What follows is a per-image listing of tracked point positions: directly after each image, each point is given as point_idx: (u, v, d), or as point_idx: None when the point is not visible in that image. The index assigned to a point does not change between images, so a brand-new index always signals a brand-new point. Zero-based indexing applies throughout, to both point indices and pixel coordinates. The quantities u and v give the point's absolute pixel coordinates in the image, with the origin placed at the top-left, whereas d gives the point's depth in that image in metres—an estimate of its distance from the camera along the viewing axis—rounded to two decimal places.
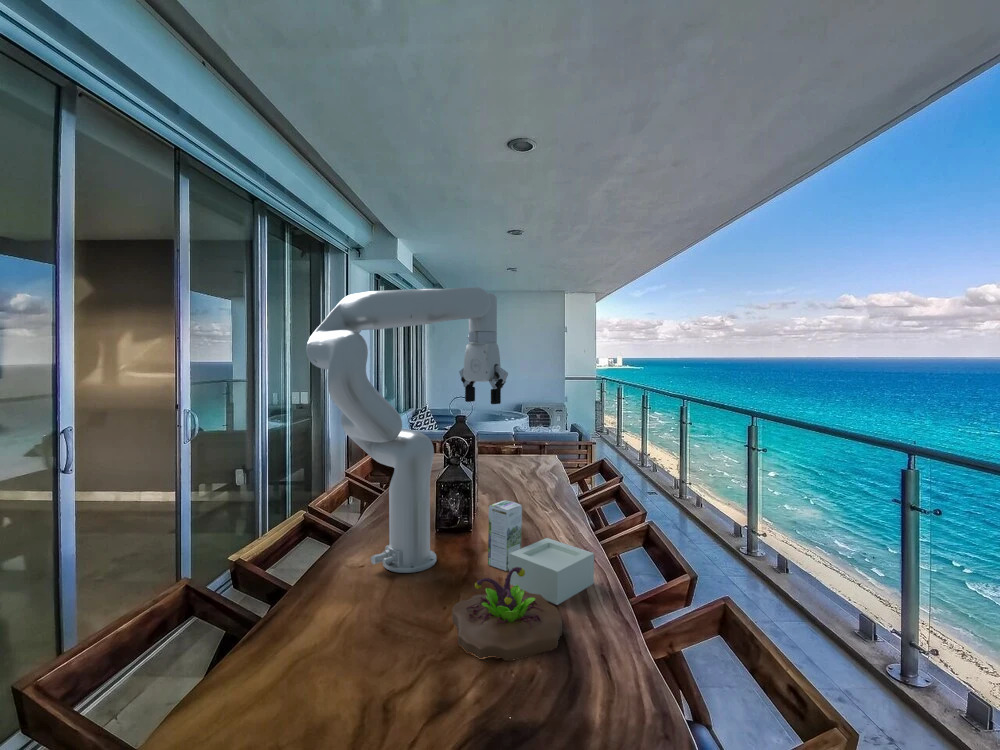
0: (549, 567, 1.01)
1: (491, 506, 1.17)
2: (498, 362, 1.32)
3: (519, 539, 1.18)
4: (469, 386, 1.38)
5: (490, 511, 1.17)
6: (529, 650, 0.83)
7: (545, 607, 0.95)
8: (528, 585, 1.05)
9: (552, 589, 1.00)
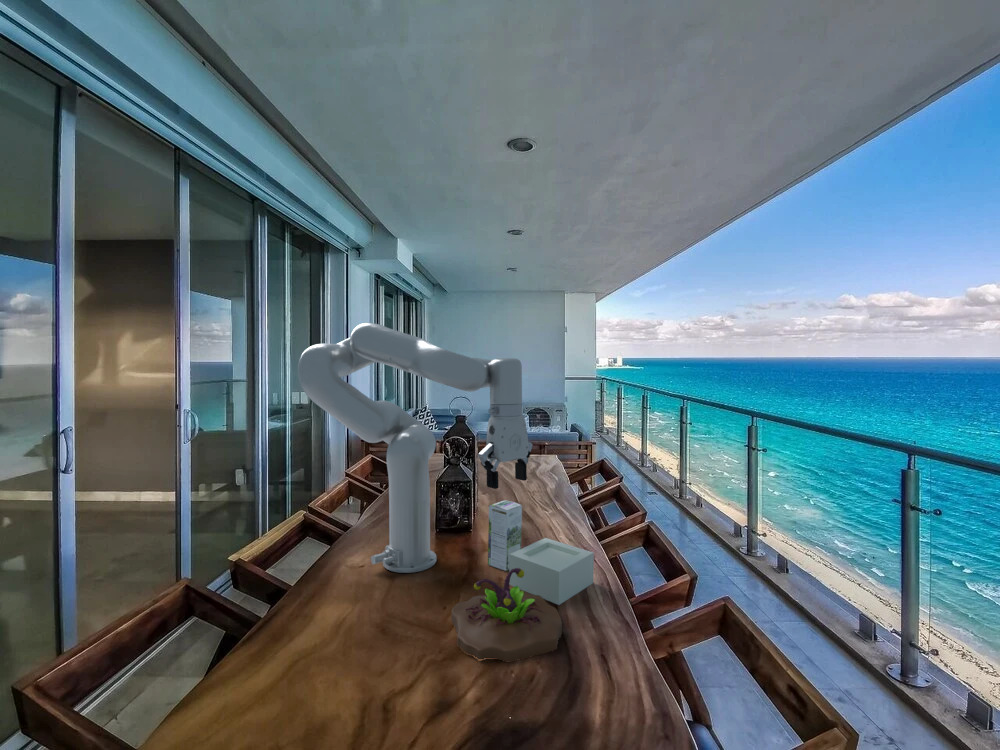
0: (550, 567, 1.01)
1: (491, 506, 1.17)
2: None
3: (519, 539, 1.18)
4: None
5: (490, 511, 1.17)
6: (529, 652, 0.82)
7: (545, 609, 0.94)
8: (529, 586, 1.04)
9: (553, 589, 1.00)
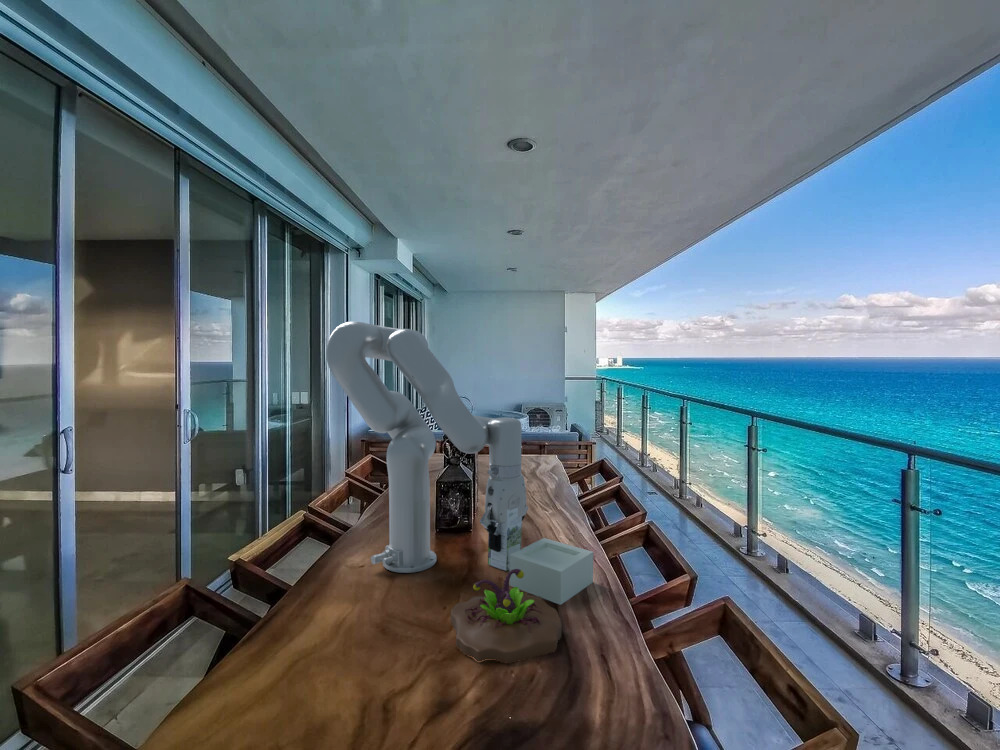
0: (552, 567, 1.01)
1: None
2: None
3: (519, 539, 1.18)
4: None
5: None
6: (528, 653, 0.82)
7: (545, 610, 0.94)
8: (530, 586, 1.04)
9: (555, 589, 1.00)
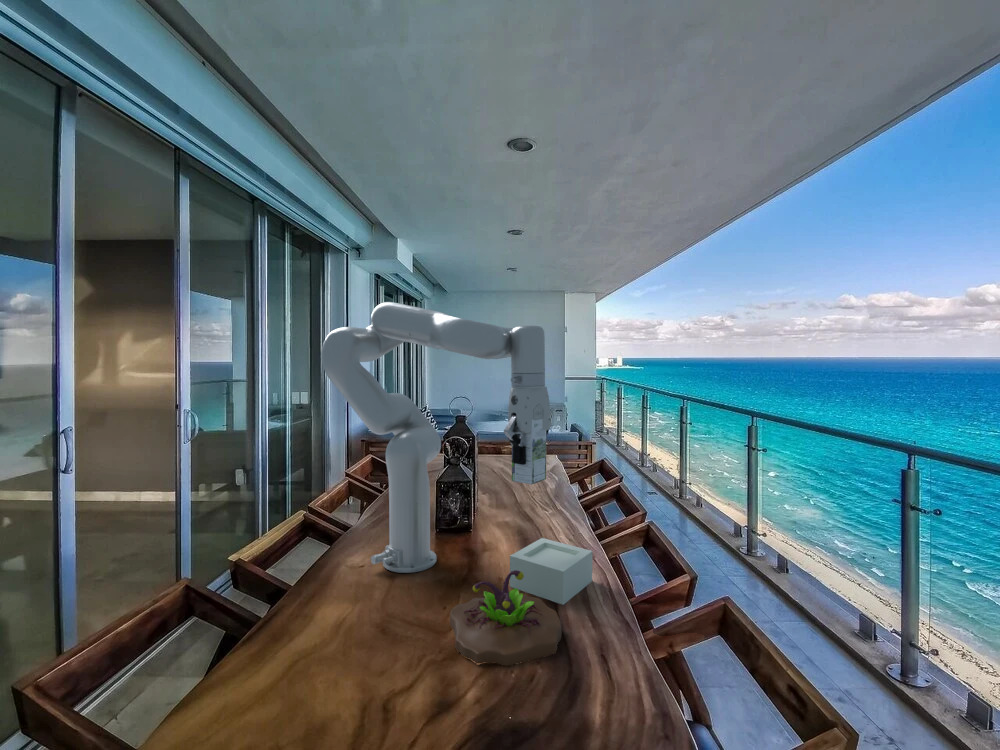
0: (554, 567, 1.01)
1: None
2: None
3: (544, 453, 1.12)
4: None
5: None
6: (528, 655, 0.81)
7: (544, 611, 0.93)
8: (531, 587, 1.04)
9: (557, 589, 1.00)
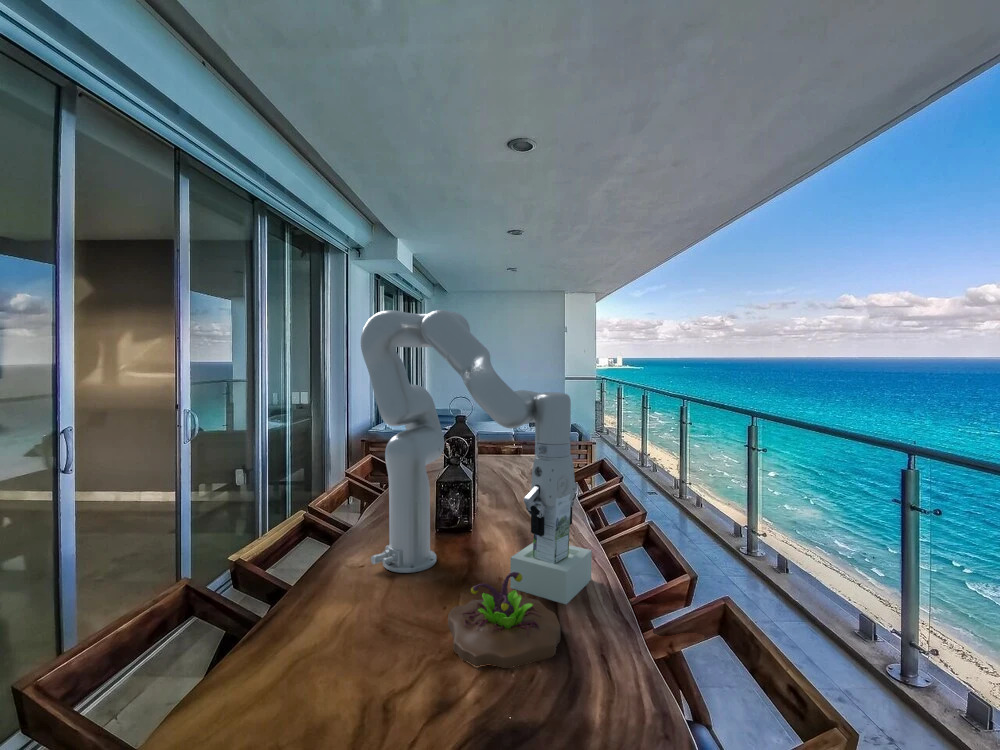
0: (556, 568, 1.01)
1: None
2: None
3: (567, 530, 1.08)
4: None
5: None
6: (526, 658, 0.80)
7: (543, 613, 0.92)
8: (533, 588, 1.04)
9: (560, 589, 1.00)
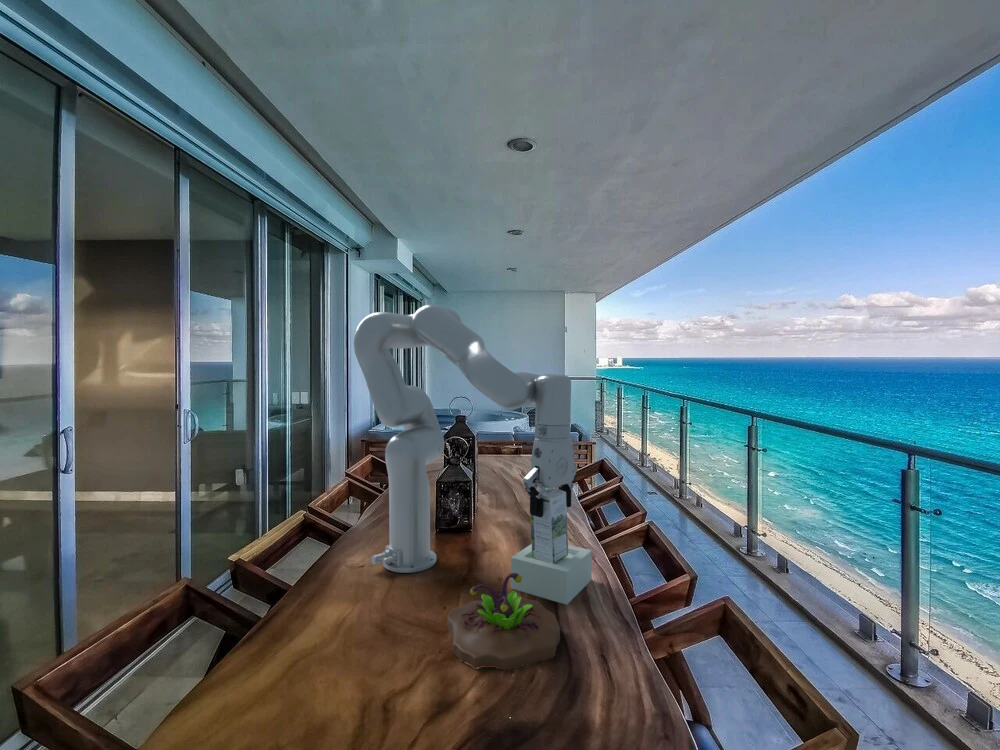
0: (557, 568, 1.01)
1: None
2: None
3: (565, 529, 1.08)
4: None
5: None
6: (526, 659, 0.80)
7: (543, 614, 0.92)
8: (533, 588, 1.04)
9: (561, 590, 1.00)
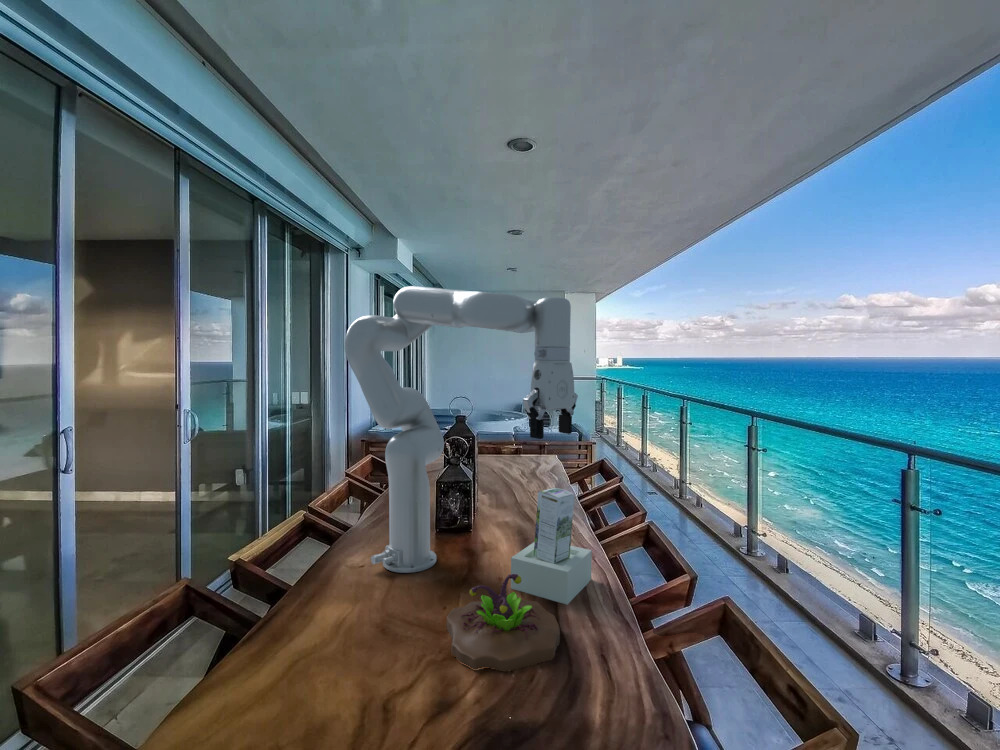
0: (557, 568, 1.01)
1: (541, 492, 1.07)
2: None
3: (569, 531, 1.08)
4: None
5: (539, 498, 1.07)
6: (525, 661, 0.80)
7: (543, 616, 0.92)
8: (534, 588, 1.04)
9: (561, 590, 1.00)
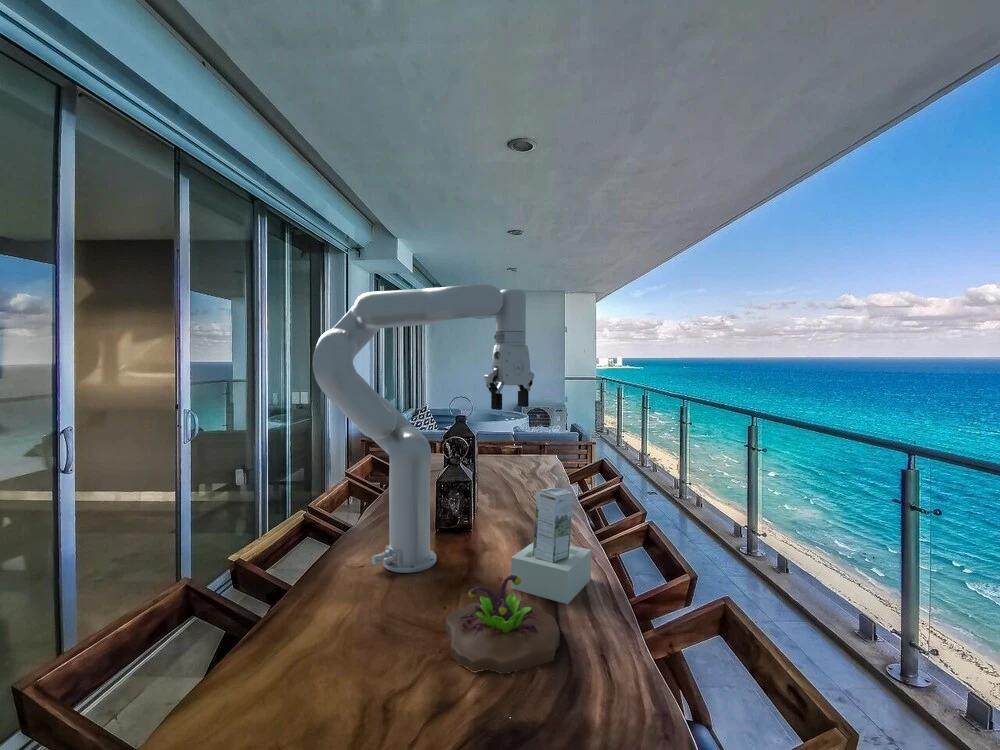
0: (557, 567, 1.01)
1: (539, 491, 1.08)
2: None
3: (568, 530, 1.08)
4: None
5: (538, 497, 1.08)
6: (525, 663, 0.79)
7: (542, 617, 0.91)
8: (534, 588, 1.04)
9: (561, 589, 1.00)
